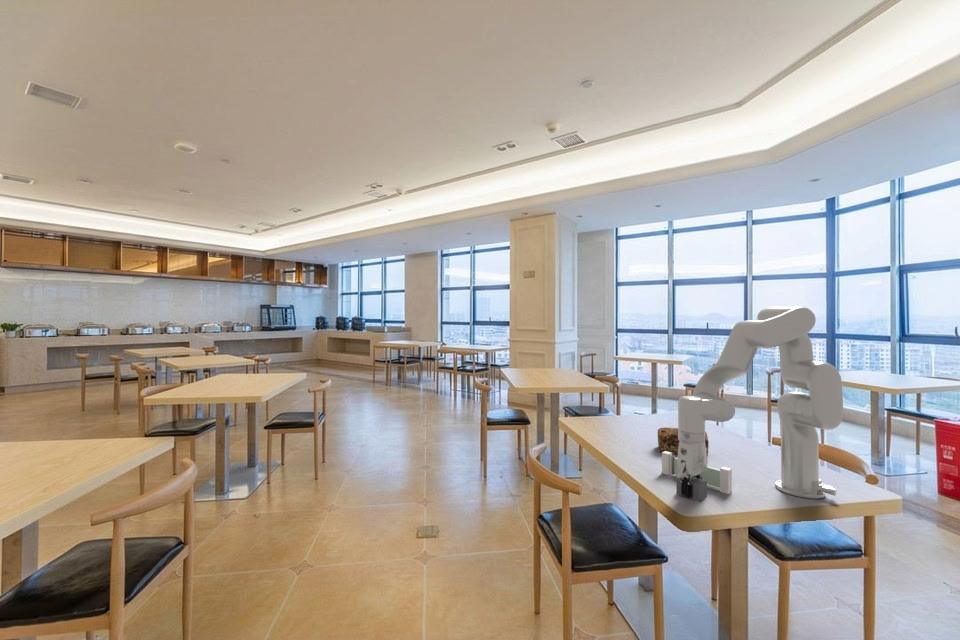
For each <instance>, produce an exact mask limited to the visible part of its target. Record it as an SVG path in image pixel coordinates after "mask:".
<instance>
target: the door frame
mask: <svg viewBox="0 0 960 640" xmlns="http://www.w3.org/2000/svg"><path fill="white" fill-rule="evenodd" d="M671 456H673V454H672V453H671V452H667V451H664V452H662V453H661V473H662V474H664V475H668V476H670V475H672V474H671ZM719 470H720V488H717V487H714V486H711V485H708V484H707V489H708V488H709V489H712V490H714V491H718V492H720V493H724V494H727V495H729V494H731V493H732V492H733V487H732V486H733V483H732V480H733V477H732V472H733V468H730V467H726V466H722V467H720V468H719ZM673 477H674V478H676V479H677V477H678V475H676V474H675V475H673Z"/></svg>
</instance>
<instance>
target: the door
mask: <svg viewBox="0 0 960 640" xmlns="http://www.w3.org/2000/svg"><path fill="white" fill-rule="evenodd" d="M675 456H676V455H672V456H671V474H670V475H672V476H674V475H678V472H679V471H678V457H675ZM685 473H688V472H687V471H685ZM702 479H703V480H706V481H707V484H708V485H711V486H714V487H717V488H720V468H715V467H711V466H708V465H707V470H706V471H705V472H703V473H702Z"/></svg>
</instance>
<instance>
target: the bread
mask: <svg viewBox="0 0 960 640" xmlns="http://www.w3.org/2000/svg"><path fill="white" fill-rule="evenodd" d="M657 442H658V443H657V444H658V445H657V447H658V452H659V453H660V454H662V452H664V451H667V452H671V453H672V456H678V447H679V440H678V427H659V428H658V429H657ZM705 445H706V453H707V458H708V457H709V446H710V445H709V437H708V433H707V431H706V430H705Z"/></svg>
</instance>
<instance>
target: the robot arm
mask: <svg viewBox="0 0 960 640" xmlns="http://www.w3.org/2000/svg"><path fill="white" fill-rule="evenodd" d="M756 318H757V319H756V320H755V319H751V320H749V319H748V320H741V321H739V322H737V323H735V325H733V327H732V330H731V331H730V333H729V336H728V338H727V340H726V342H725V345H724V347H723V349H722V352H721V354H720V356H719V359H718V361H717V362H716V363H715V364H713V365H712V366H711V367H710V368H709V369H708V370H707V371H706V372H705V373H704V374H702V376H701V377H700V378H699V380H698V381H697V383H696V385H695V388H694V390H693V392H692V394H691V395H683V396H680V397H679V398H678V401H677V414H678V415H677V421H678V422H677V425H678V427H677V428H678V440H679V447H678V455H677V458H678V471H679V472H678V477H679V478H680V480H681V494H682V495H681V496H683V495H684V496H683V497H686V498H688V499H692V485H691V481H692V476H693V477H696V478H699V479H702V473H703V472H705V471H706V470H707V466H708V457H707V453H706V445H705V431H706V421H708V422H709V421H710V422H718V423H723V422H729V421H731V420H732V419H733V418H734V417H735V414H736V407H735V406H734V404H733V403H732V401H730V400H728V399H727V398H723V397H721V396H717V393H718V392H719V390H720V388H721V387H722V386H723V385H725V384H726V383H727V382H728V381H729V382H730V381H731V380H734V379H736V378H739V377H741V376H744V375H746V374H747V373H748V372H749V370H750V367H751V365H752V362H753V361H754V358H755V355H756V354H757V352H758V350H759V348H760V349H772V348H776V347H778V351H779V364H780V365H779V366H780V369H779V370H780V378H781V381H782V382H783V384H785V386H788V387H790V388H794V389H798V390H802V391H803V390H804V391H808V392H809V393H806V392H801V391H788V392H785V393H783V394H782V395H780V396H779V397H778V400H777V403H776V407H777V408H776V409H777V414H778V417H779V422H780V479H778V480H776V481H775V482H774V483H775V488H776V489H777V490H779V491H781V492H782V493H786V494H788V495H792V496H796V497H799V498H806V499H815V500H816V499H818V500H819V499H823V498H825V497H826V494H827V495H830V496H836V495H837V489H835V488H834V486H831V485H827V484H824V483H823V479H822V478H819V473H820V472H819V470H820V469H819V468H820V467H819V465H820V464H819V454H820V453H819V442H820V441H819V440H820V439H819V435H818V432H817V429H821V430H827V431H829V430H834V429H837V428H838V427H839V426H840V425H841V423H842V421H843V418H844V398H843V381H842V377H841V374H840V372H839V370H838V369H837V368H836V366H834V365H833V364H831V363H830V362H826V361H822V360H821V361H820V360H815V358H814V352H813V344H812V341H811V338H810V337H809V335H808V333H809V332H811V331H812V329H813V328H814V326H815V325H816V322H817V321H816V316H815V313H814V312H813V310H811V309H810V308H807V307H804V306H799V305H798V306H795V305H793V306H771V307H766V308H764V309H761V310H760V311H759V312H758V314H757V317H756ZM685 471H687V472H688V473H685ZM685 475H687V476H688V479H687V477H685Z"/></svg>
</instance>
